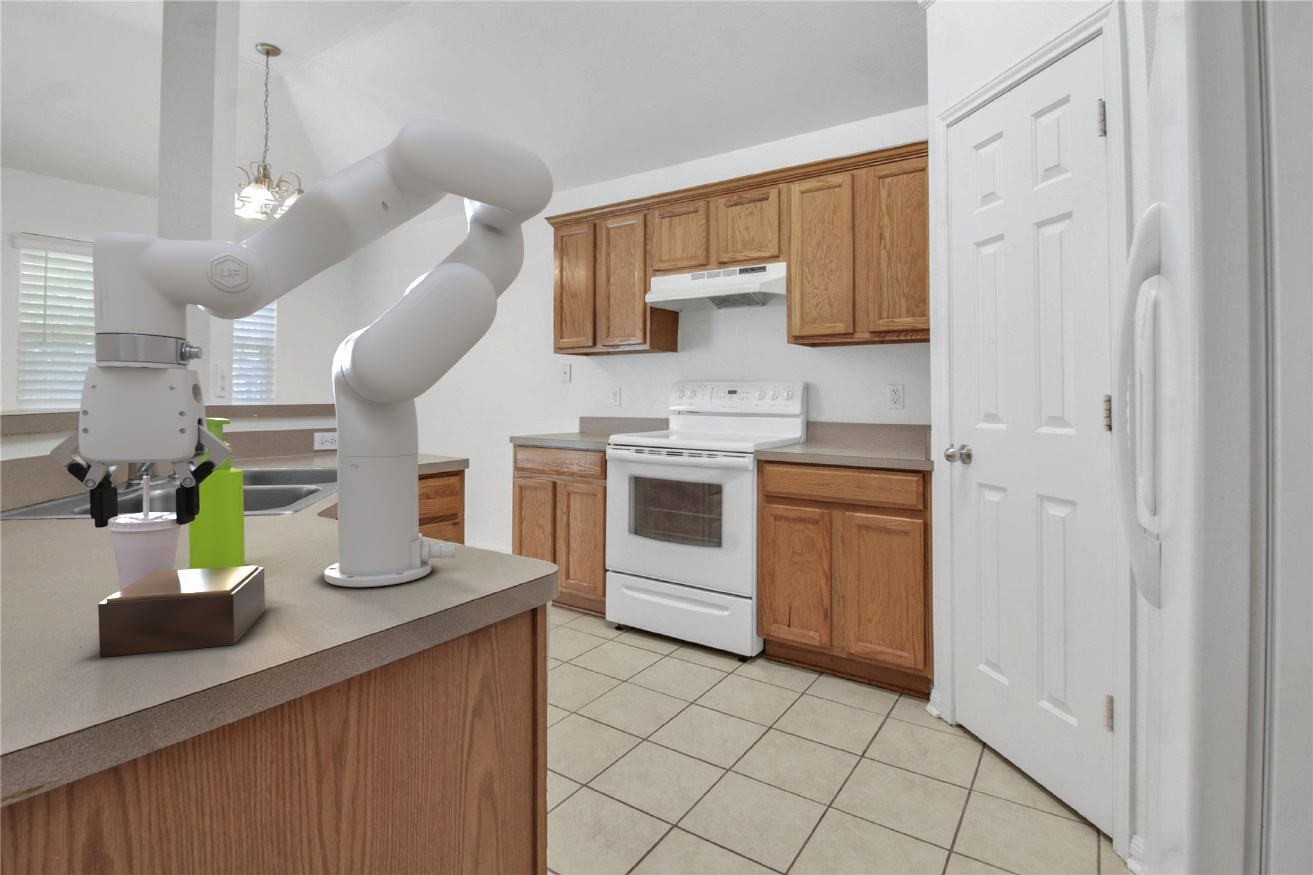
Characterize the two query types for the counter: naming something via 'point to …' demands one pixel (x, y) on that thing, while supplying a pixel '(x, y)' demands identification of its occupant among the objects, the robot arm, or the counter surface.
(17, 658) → the counter surface
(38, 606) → the counter surface
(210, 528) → the soap dispenser
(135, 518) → the smoothie
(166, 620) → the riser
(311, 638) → the counter surface
